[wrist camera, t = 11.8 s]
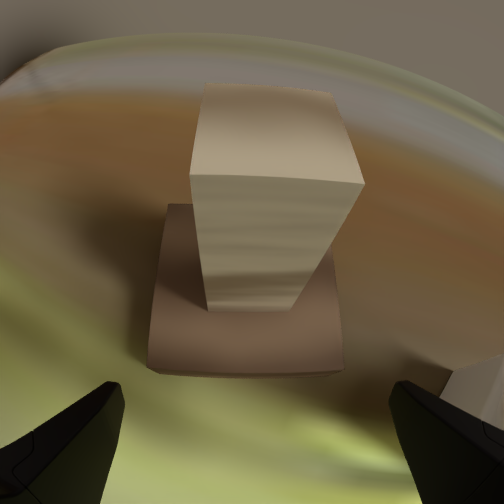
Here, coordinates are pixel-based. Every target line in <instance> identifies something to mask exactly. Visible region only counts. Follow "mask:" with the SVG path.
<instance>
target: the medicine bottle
mask: <svg viewBox="0 0 504 504" xmlns="http://www.w3.org/2000/svg"><path fill="white" fill-rule="evenodd" d="M439 398H441V399H443V400H445V401H447V402H448V403H450V404H452V405H454V406H456V407H458V408H460V409H462V410H464V411H465V412H467V413H469V414H471V415H473V416H475V417H477V418H479V419H481V421H485V422H487V423H489V424H491V425H493V426H495V427H497V428H499V429H501V430H504V353H503V354H500V355H498V356H495V357H492V358H490V359H487V360H484V361H482V362H479V363H476V364H473V365H470V366H467V367H464V368H461V369H458V370H455V371H453V373H452V375H451V377H450V379H449V380H448V382H447V384H446V386H445V388H444V390H443V392H442V393H441V395H440V397H439Z"/></svg>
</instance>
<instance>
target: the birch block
mask: <svg viewBox="0 0 504 504" xmlns="http://www.w3.org/2000/svg"><path fill="white" fill-rule="evenodd" d="M190 182H191V191H192V200H193V208H194V217H195V224H196V232H197V240H198V247H199V254H200V261H201V268H202V275H203V281H204V288H205V294H206V301H207V307H208V311H217V312H289V310H290V309H291V307H292V306H293V304H294V303H295V301H296V300H297V298H298V296H299V295H300V293H301V292H302V290H303V288H304V287H305V285H306V284H307V282H308V280H309V279H310V277H311V276H312V274H313V272H314V271H315V269H316V268H317V266H318V264H319V263H320V261H321V259H322V258H323V256H324V254H325V253H326V251H327V249H328V248H329V246H330V244H331V243H332V241H333V239H334V238H335V236H336V234H337V232H338V231H339V229H340V227H341V226H342V224H343V222H344V220H345V219H346V217H347V215H348V213H349V212H350V210H351V208H352V206H353V205H354V203H355V201H356V199H357V197H358V196H359V194H360V192H361V190H362V188H363V187H364V185H365V183H364V180H363V177H362V174H361V170H360V167H359V165H358V162H357V159H356V156H355V153H354V150H353V147H352V144H351V142H350V139H349V136H348V134H347V131H346V128H345V126H344V123H343V121H342V118H341V116H340V113H339V111H338V108H337V106H336V103H335V101H334V98H333V96H332V94H331V93H327V92H320V91H313V90H306V89H297V88H288V87H278V86H265V85H249V84H221V83H205V87H204V92H203V97H202V103H201V108H200V113H199V119H198V125H197V130H196V136H195V143H194V149H193V155H192V162H191V169H190Z"/></svg>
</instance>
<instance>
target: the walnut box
mask: <svg viewBox="0 0 504 504" xmlns="http://www.w3.org/2000/svg"><path fill="white" fill-rule="evenodd" d="M147 368H149V369H151V370H153V371H155V372H157V373H159V374H166V375H178V376H192V377H211V378H251V379H263V378H302V377H321V376H329V375H332V374H334V373H337V372H340V371H342V370H345V369H344V355H343V342H342V331H341V320H340V311H339V301H338V293H337V284H336V276H335V269H334V261H333V254H332V247H331V244H330V246H329V248H328V249H327V251H326V253H325V254H324V256H323V258H322V259H321V261H320V263H319V264H318V266H317V268H316V269H315V271H314V272H313V274H312V276H311V277H310V279H309V280H308V282H307V284H306V285H305V287H304V288H303V290H302V292H301V293H300V295H299V296H298V298H297V300H296V301H295V303H294V304H293V306H292V307H291V309H290V310H289V312H217V311H208V307H207V301H206V294H205V288H204V281H203V275H202V268H201V261H200V254H199V247H198V240H197V232H196V224H195V217H194V208H193V204H168V209H167V214H166V219H165V225H164V230H163V236H162V242H161V248H160V254H159V261H158V267H157V274H156V281H155V289H154V297H153V305H152V313H151V322H150V332H149V342H148V354H147Z"/></svg>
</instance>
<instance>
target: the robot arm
mask: <svg viewBox="0 0 504 504" xmlns="http://www.w3.org/2000/svg"><path fill="white" fill-rule="evenodd" d="M124 408H125V401H124V397H123V393H122V390H121V386H120V384H119V383H117V382H111V381H107V382H105V383H103V384H102V385H100V386H99V387H97V388H96V389H95V390H93V391H92V392H90V393H89V394H87V395H86V396H84V397H83V398H81V399H80V400H78V401H77V402H75V403H74V404H72V405H71V406H69V407H68V408H66V409H64V410H63V411H61V412H60V413H58V414H57V415H55V416H54V417H52V418H51V419H49V420H48V421H46V422H45V423H43V424H42V425H40V426H38V427H37V428H35V429H34V430H33V431H31V432H29V433H27V434H26V435H24V436H23V437H21V438H19V439H18V440H16V441H14V442H13V443H11V444H9V445H7V446H5V447H3V448H1V449H0V504H100V502H101V498H102V495H103V491H104V488H105V484H106V481H107V477H108V474H109V471H110V467H111V464H112V461H113V458H114V454H115V451H116V448H117V444H118V439H119V434H120V428H121V423H122V418H123V413H124ZM389 408H390V411H391V415H392V418H393V422H394V425H395V429H396V433H397V436H398V439H399V442H400V445H401V447H402V450H403V453H404V455H405V458H406V460H407V463H408V465H409V468H410V471H411V473H412V476H413V479H414V481H415V484H416V487H417V490H418V492H419V495H420V498H421V501H422V504H504V430H501V429H499V428H497V427H495V426H493V425H491V424H489V423H487V422H485V421H481V419H479V418H477V417H475V416H473V415H471V414H469V413H467V412H465V411H464V410H462V409H460V408H458V407H456V406H454V405H452V404H450V403H448V402H447V401H445V400H443V399H441V398H439V397H437V396H435V395H433V394H432V393H430V392H428V391H426V390H424V389H422V388H421V387H419V386H417V385H415V384H413V383H412V382H410V381H408V380H404V381H398V382H396V383H395V385H394V388H393V390H392V393H391V395H390V398H389Z"/></svg>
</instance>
